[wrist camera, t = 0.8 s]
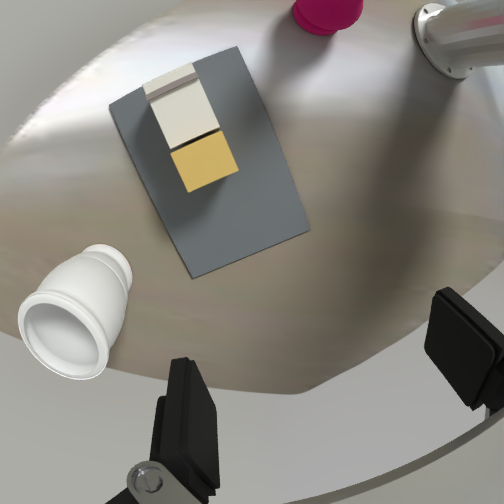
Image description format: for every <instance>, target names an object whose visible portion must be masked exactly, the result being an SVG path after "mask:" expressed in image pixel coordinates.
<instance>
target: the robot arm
mask: <svg viewBox="0 0 504 504" xmlns="http://www.w3.org/2000/svg"><path fill="white" fill-rule="evenodd" d="M414 27H415V33H416V37H417V40H418V42H419V45H420V47H421V49H422V51H423V52H424V54H425V56H426V57H427V59H428V60H429V61H430V62H431V63H432V65H433V66H434V67H435V68H436V69H437V70H438V71H440V72H441V73H443V74H444V75H446V76H448V77H450V78H454V79H461V78H466V77H468V76H469V75H470V74H471V73H472V72H473V70H474V68H475V67H483V66H498V65H504V0H467V1H465V2H461V3H458V4H455V5H452V6H449V7H445V6H443V5H440V4H436V3H429V4H426V5H423V6H422V7H420V8H419V9H418V11H417V12H416V15H415V19H414ZM424 349H425V352H426V354H427V355H428V356H429V357H430V359H431V360H432V361H433V363H434V364H435V365H436V366H437V368H438V369H439V370H440V371H441V373H442V374H443V375H444V377H445V378H446V379H447V381H448V382H449V383H450V385H451V386H452V387H453V389H454V390H455V391H456V392H457V394H458V396H459V397H460V398H461V400H462V401H463V402H464V404H465V405H466V406H470V408H471V409H472V411H474V410H475V409H477V408H479V407H480V406H481V405H482V404H483V403H484V404H485V405H486V413H485V421H483V422H482V423H480V424H479V425H477V426H476V427H474V428H472V429H471V430H469V431H468V432H466V433H464V434H463V435H461V436H460V437H458V438H456V439H454V440H453V441H451V442H449V443H447V444H445V445H444V446H442V447H440V448H438V449H437V450H434V451H433V452H431V453H429V454H427V455H425V456H423V457H421V458H419V459H417V460H414V461H412V462H410V463H408V464H406V465H404V466H401V467H399V468H397V469H394V470H392V471H390V472H387V473H385V474H382V475H380V476H377V477H374V478H372V479H369V480H367V481H364V482H361V483H358V484H355V485H352V486H349V487H346V488H343V489H340V490H336V491H333V492H330V493H326V494H322V495H319V496H315V497H311V498H307V499H303V500H298V501H294V502H289V503H284V504H504V335H503V334H502V333H501V332H500V331H499V330H498V329H497V328H496V327H495V326H494V325H492V323H490V322H489V321H488V320H487V319H486V318H485V317H484V316H483V315H481V313H479V312H478V311H477V310H476V309H475V308H474V307H473V306H472V305H470V304H469V303H468V302H467V301H466V300H464V299H463V298H462V297H461V296H460V295H459V294H458V293H456V292H455V291H454V290H453V289H452V288H450V287H446V288H443V289H441V290H438V291H436V293H435V296H434V297H433V299H432V306H431V312H430V318H429V324H428V329H427V334H426V339H425V344H424ZM217 437H218V435H217V411H216V407H215V404H214V402H213V400H212V398H211V396H210V394H209V391H208V389H207V387H206V385H205V383H204V381H203V378H202V376H201V374H200V372H199V370H198V367H197V365H196V363H195V361H194V360H191V361H190V360H189V358H188V357H184V358H178V359H172V361H171V366H170V372H169V379H168V387H167V394H166V396H160V397H159V398H158V401H157V407H156V414H155V420H154V427H153V435H152V443H151V451H150V460H149V461H144V462H140V463H139V464H137V465H135V466H134V467H133V468H132V469H131V470H130V471H129V473H128V476H127V486H128V487H127V488H126V489H124V490H123V491H122V492H120V493H119V494H118V495H116V496H115V497H114V498H112V499H111V500H110V501H108V502H107V503H106V504H208V503H209V500H208V496H215V495H216V493H215V489H218V488H220V475H219V457H218V438H217Z"/></svg>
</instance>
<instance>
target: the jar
mask: <svg viewBox="0 0 504 504" xmlns="http://www.w3.org/2000/svg"><path fill="white" fill-rule="evenodd" d="M131 284H132V271H131V268H130V265H129V263H128V261H127V260H126V258H125V257H124V256H123V255H122V254H121V253H120V252H119V251H118V250H116V249H115V248H113V247H111V246H108V245H104V244H96V245H92V246H89V247H87V248H86V249H85V250H84V251H83V252H82V253H80V254H78V255H76V256H74V257H72V258H70V259H69V260H67V261H65V262H63V263H62V264H60V265H59V266H57V267H56V268H55V269H53V270H52V271H51V272H50V273H49V274H48V275H47V276H46V278H45V279H44V280H43V281H42V283H41V284H40V286H39V287H38V289H37V291H36V292H34V293H32V294H31V295H29V296H28V297H27V298H26V299H25V300H24V301H23V303H22V304H21V306H20V309H19V312H18V325H19V329H20V333H21V336H22V338H23V340H24V342H25V343H26V345H27V347H28V349H29V350H30V351H31V353H32V354H33V355H34V356H35V357H36V358H37V359H38V360H39V361H40V362H41V363H42V364H43V365H45V366H46V367H47V368H49V369H50V370H52V371H53V372H55V373H57V374H59V375H61V376H64V377H67V378H71V379H76V380H87V379H91V378H94V377H96V376H98V375H99V374H100V373H101V372H102V371H103V370H104V369H105V367H106V364H107V362H108V359H109V350H110V348H111V347H112V345H113V344H114V342H115V341H116V339H117V337H118V335H119V332H120V330H121V327H122V324H123V321H124V317H125V311H126V305H127V300H128V292H129V290H130V288H131Z"/></svg>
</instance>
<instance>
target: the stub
mask: <svg viewBox="0 0 504 504" xmlns="http://www.w3.org/2000/svg"><path fill="white" fill-rule="evenodd" d="M170 154H171V156H172V159H173V161H174V163H175V165H176V167H177V169H178V172H179V174H180V176H181V178H182V180H183V182H184V184H185V187H186V189H187V191H188V193H189V192H191V191H193V190H195V189H198V188H200V187H202V186H204V185H206V184H209V183H211V182H213V181H216V180H218V179H220V178H222V177H225V176H227V175H229V174H232V173H234V172H237V171H239V169H238V167H237V165H236V162H235V160H234V158H233V155H232V153H231V151H230V148H229V146H228V144H227V141H226V139H225V137H224V135H223V132H222V130H221V131H219V132H216V133H214V134H212V135H209V136H207V137H205V138H203V139H200V140H198V141H196V142H194V143H192V144H189V145H187V146H185V147H183V148H181V149H179V150H177V151H174V152H172V153H170Z"/></svg>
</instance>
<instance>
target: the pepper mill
mask: <svg viewBox="0 0 504 504" xmlns="http://www.w3.org/2000/svg"><path fill="white" fill-rule="evenodd" d="M362 9H363V0H296V2H295V3H294V6H293V16H294V18H295V20H296V22H297V23H298V24H299V25H300V26H301V27H302V28H303V29H304V30H306V31H308V32H310V33H312V34H315V35H321V36H324V35H330V34H333V33H335V32H336V31H337V30H342V29H346V28H348V27H350V26H351V25H353V24H354V23H355V22H356V21H357V20H358V18H359V17H360V15H361V12H362Z"/></svg>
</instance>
